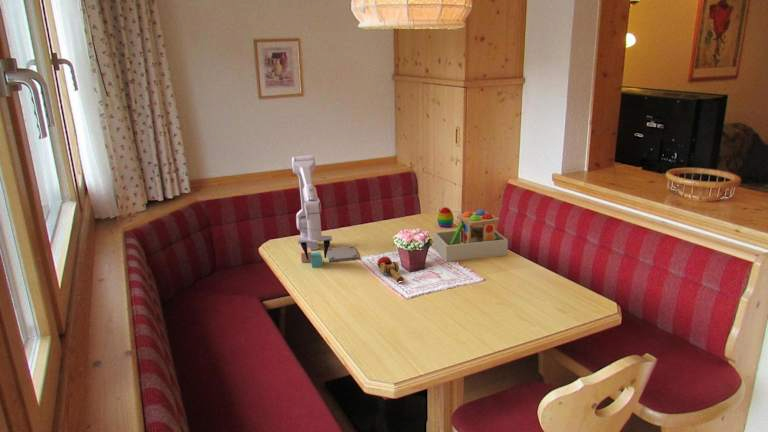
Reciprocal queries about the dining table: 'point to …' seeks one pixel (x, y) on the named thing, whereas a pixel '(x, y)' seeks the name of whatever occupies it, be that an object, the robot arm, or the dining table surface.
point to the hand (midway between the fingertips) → (316, 258)
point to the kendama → (389, 268)
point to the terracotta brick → (303, 256)
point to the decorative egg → (445, 218)
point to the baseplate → (342, 254)
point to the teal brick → (316, 259)
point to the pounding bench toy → (480, 232)
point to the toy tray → (468, 247)
